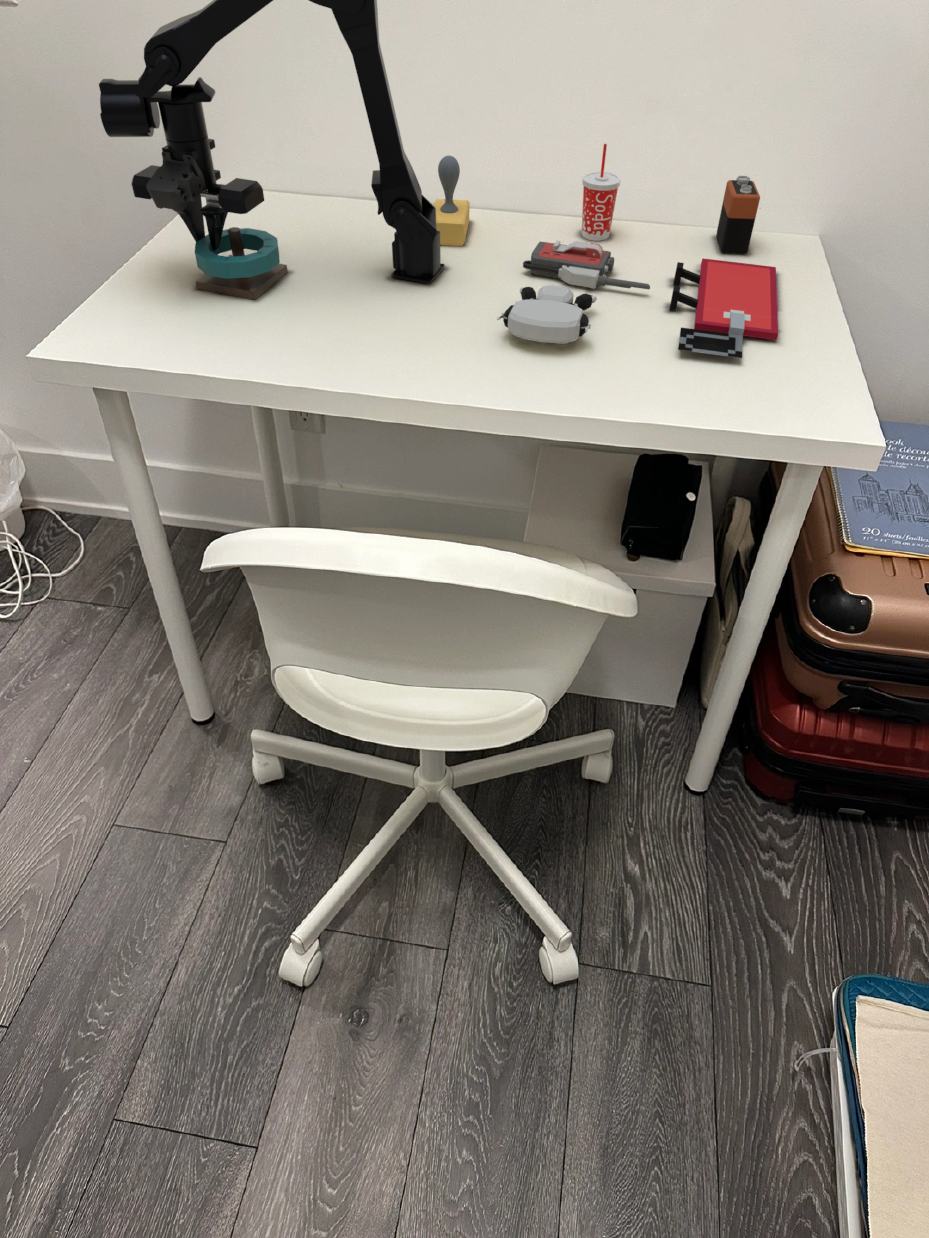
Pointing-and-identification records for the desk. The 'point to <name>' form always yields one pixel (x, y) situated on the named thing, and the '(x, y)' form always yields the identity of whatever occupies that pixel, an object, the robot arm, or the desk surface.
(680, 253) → the desk surface
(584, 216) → the beverage cup
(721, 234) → the battery
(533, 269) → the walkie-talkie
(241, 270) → the ring
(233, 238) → the stand
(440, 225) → the rubber stamp
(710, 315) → the red board with handle
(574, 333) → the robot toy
